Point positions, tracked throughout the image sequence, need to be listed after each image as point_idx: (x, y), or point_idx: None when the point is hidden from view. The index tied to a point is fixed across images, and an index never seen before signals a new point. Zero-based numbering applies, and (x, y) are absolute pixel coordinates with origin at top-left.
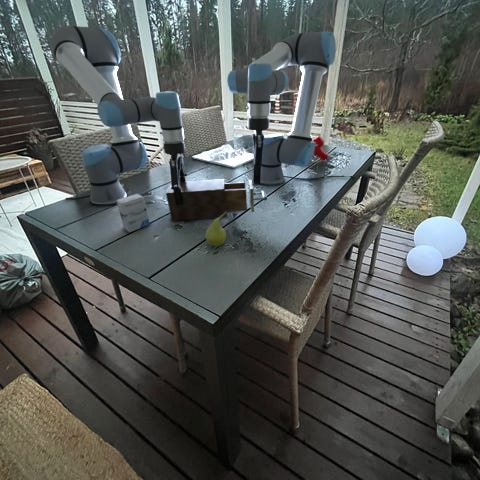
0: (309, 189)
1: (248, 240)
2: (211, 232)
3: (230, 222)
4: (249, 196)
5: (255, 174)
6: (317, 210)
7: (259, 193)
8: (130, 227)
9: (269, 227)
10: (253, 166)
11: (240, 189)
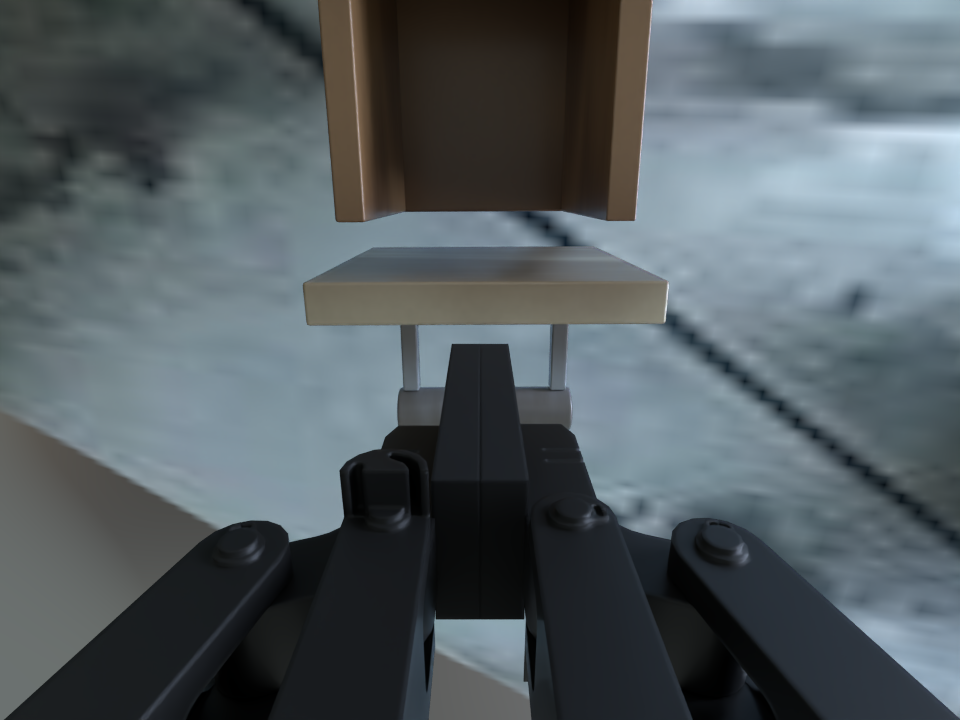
0: None
1: (37, 193)
2: None
3: (302, 44)
4: (567, 254)
5: (416, 431)
6: (492, 670)
7: (549, 367)
8: None
9: (246, 361)
10: (354, 483)
11: (334, 134)
